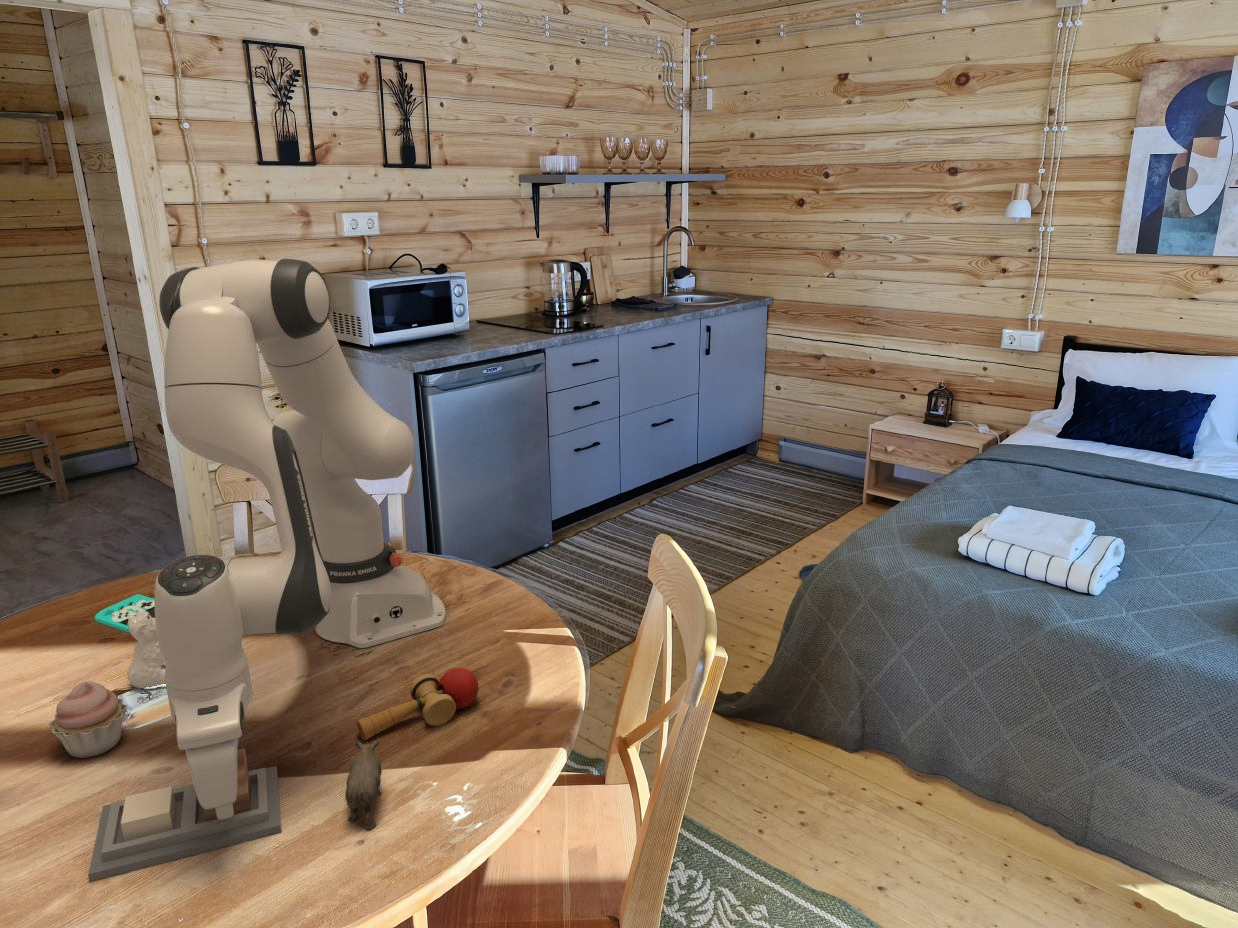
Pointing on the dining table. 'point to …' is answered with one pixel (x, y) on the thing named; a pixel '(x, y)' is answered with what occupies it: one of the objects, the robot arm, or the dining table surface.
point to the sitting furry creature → (145, 653)
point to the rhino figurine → (364, 783)
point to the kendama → (427, 701)
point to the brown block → (243, 789)
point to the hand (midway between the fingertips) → (226, 789)
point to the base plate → (178, 826)
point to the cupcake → (89, 720)
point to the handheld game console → (125, 611)
